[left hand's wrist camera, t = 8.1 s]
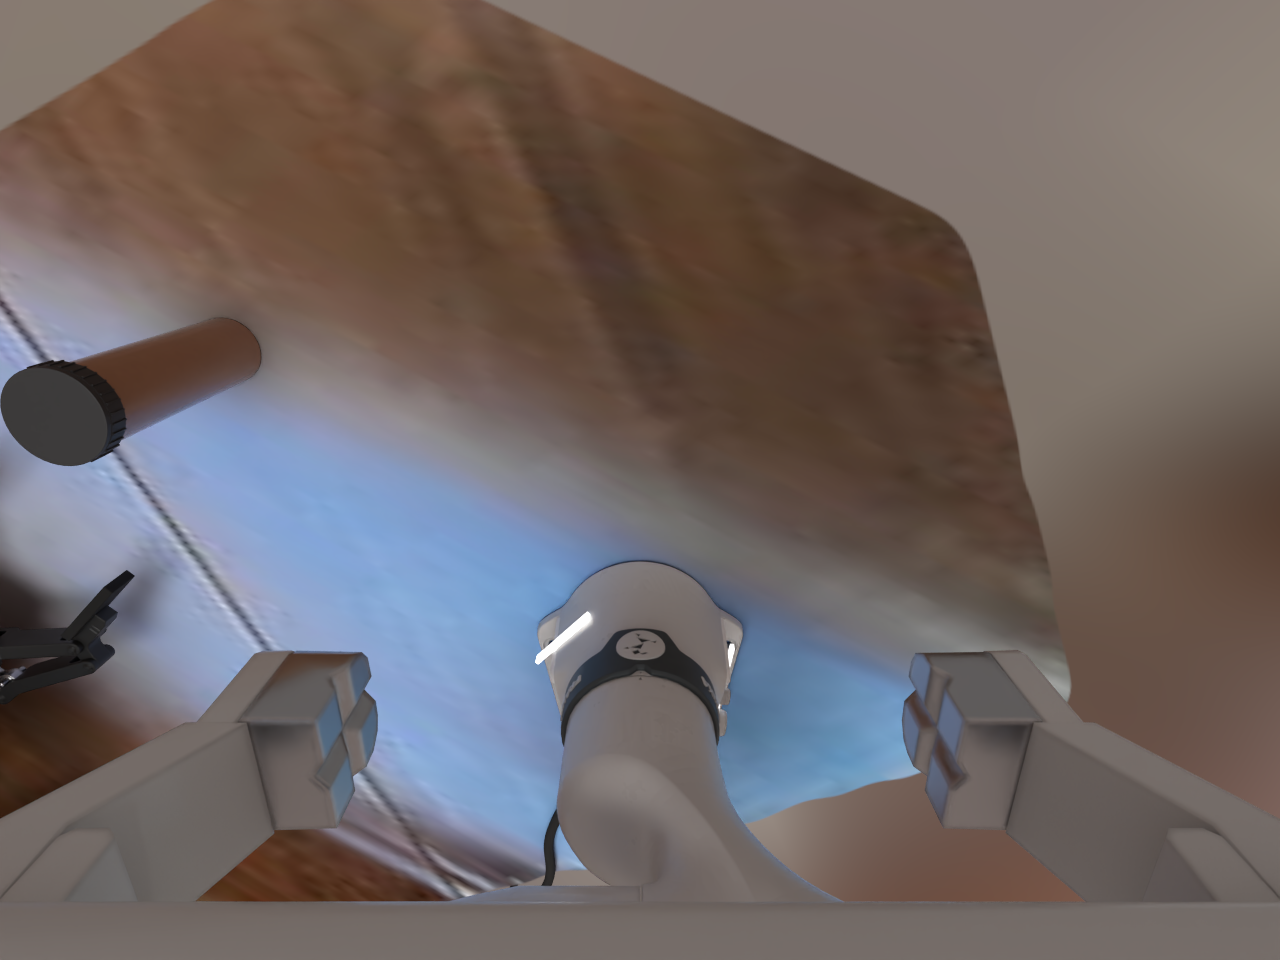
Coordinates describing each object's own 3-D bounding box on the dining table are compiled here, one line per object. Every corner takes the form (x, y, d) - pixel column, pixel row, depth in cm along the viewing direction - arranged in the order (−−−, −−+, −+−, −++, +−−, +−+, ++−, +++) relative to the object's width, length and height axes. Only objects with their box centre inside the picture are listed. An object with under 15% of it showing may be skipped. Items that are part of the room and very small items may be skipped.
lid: (13, 429, 42) (-11, 438, 40) (34, 340, 40) (9, 346, 39) (114, 473, 43) (95, 484, 41) (139, 389, 41) (120, 397, 40)
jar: (187, 363, 57) (4, 433, 41) (205, 305, 56) (21, 354, 39) (250, 393, 58) (95, 473, 42) (269, 337, 57) (117, 398, 40)
